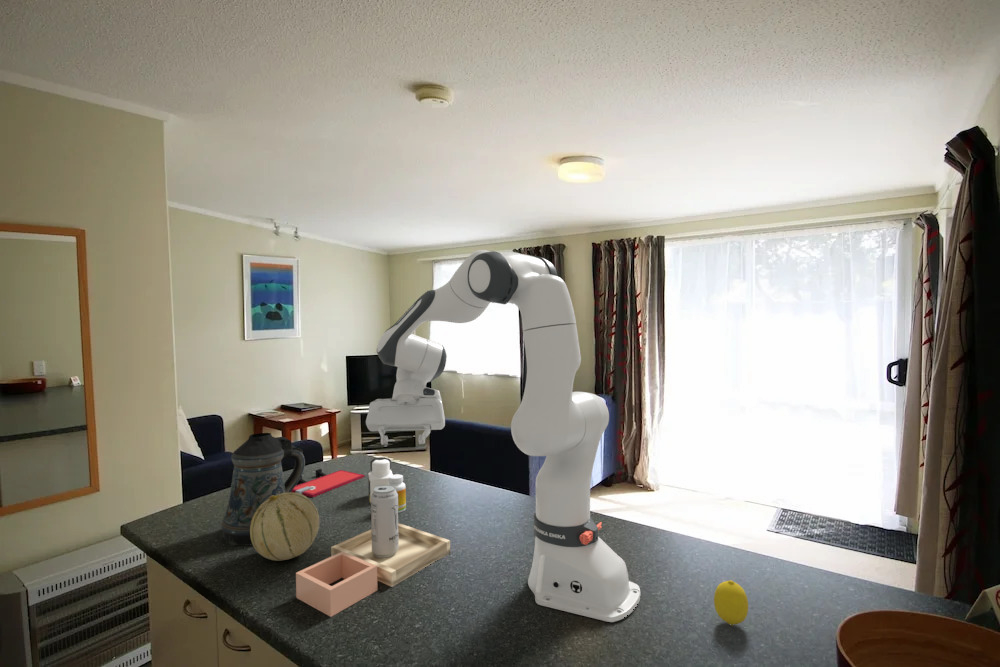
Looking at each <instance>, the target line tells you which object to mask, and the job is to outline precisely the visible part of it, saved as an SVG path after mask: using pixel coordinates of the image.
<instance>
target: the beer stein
mask: <svg viewBox="0 0 1000 667" xmlns="http://www.w3.org/2000/svg"><path fill="white" fill-rule="evenodd" d="M230 458H231V459H230V460H231V462H232V464H233V472H232V478H231V483H230V489H229V490H230V492H229V498H228V502H227V507H226V510H225V513H224V517H223V518H222V521H221V525H220V527H221V531H222V535H223V540H224V542H226V543H228V544H229V543H230V545H232V546H251V545H250V544H252V541H251V538H250V526H251V521H252V518H253V516H254V514H255V512H256V510H257V509H258V507H259V506H260V505H261V504H262V503H264V502H265V501H266V500H268V499H269V498H270V496H272V495H274V496H276V495H278V494H282V493H290V492H291V491H292V490H293V489H294V487H295V486H297V485H296V484H297V483H298V481H299V479H300V478H301V476H302V477H303V474H304V471H305V465H306V459H305V456H304V454H303V450H302V449H301V448H299V447H296V446H294V445H293V444H292V441H291V440H289V439H288V438H286V437H284V436H277V437H275V436H273V435H272V433H271V432H259V433H258V432H257V433H253V434H250V435H249V437H248V439H247V440H245V442H244V443H242V444H241V445H240V446H239V447H238V448H236V449H235V450H234V451H233V452H232V454H231V455H230ZM287 458H293V459H294V467H293V469H292V472H291V473H290V475H289V476H288V478H287V480H284V479H285V478H284V472H283V466H282V460H283V459H287ZM252 545H253V544H252Z"/></svg>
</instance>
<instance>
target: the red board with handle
mask: <svg viewBox="0 0 1000 667" xmlns="http://www.w3.org/2000/svg"><path fill="white" fill-rule="evenodd" d="M365 477H366V475H365V474H361V473H357V472H352V471H348V470H342V469H339V470H337V471H334V472H332V473H329V474H326V473H324V472H323V469H322V468H319V469H316V470H315V478H314V479H311V480H309V481H306V480H305V479H303V475H302V476H301V478H300V479H299V481H298V483H297V484H296V486H295V487H294V489H293V490H292V491H291V493H299V494H302V495H304V496H305V497H307V496H308V497H307V498H312V497H314V498H316V497H318V495H319V496H321V495H323V493H324V494H326V493H328V492H327V491H329V492H331V491H333V490H332V489H334V490H336V489H339V488H340V486H341V487H344V486H346V485H348V484H351V483H353V482H356V481H358V480H361V479H363V478H365ZM335 488H336V489H335ZM330 490H331V491H330ZM325 492H326V493H325ZM320 494H321V495H320Z"/></svg>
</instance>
